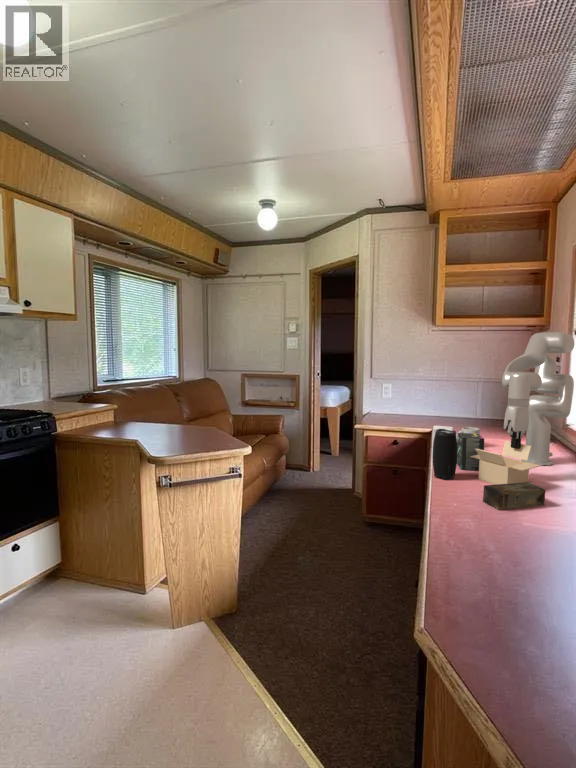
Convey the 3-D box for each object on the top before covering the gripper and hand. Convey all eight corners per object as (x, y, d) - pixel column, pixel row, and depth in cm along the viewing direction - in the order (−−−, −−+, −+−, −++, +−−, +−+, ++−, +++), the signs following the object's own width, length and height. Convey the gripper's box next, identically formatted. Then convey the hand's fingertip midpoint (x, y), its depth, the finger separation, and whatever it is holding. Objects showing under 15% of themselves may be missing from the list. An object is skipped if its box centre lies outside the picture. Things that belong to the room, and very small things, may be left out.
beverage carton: (546, 506, 137) (547, 487, 137) (498, 511, 133) (499, 492, 132) (527, 497, 145) (528, 479, 144) (481, 502, 140) (482, 484, 140)
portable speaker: (431, 473, 173) (433, 427, 171) (455, 475, 170) (457, 429, 168) (432, 479, 165) (433, 431, 163) (456, 481, 162) (458, 433, 160)
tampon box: (483, 471, 175) (485, 438, 174) (461, 470, 177) (462, 437, 176) (477, 464, 186) (478, 433, 185) (456, 463, 188) (457, 432, 187)
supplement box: (431, 458, 196) (432, 428, 194) (432, 454, 204) (433, 425, 203) (451, 460, 192) (452, 429, 191) (451, 456, 200) (452, 426, 199)
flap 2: (501, 454, 170) (502, 454, 170) (527, 460, 161) (527, 460, 161) (505, 440, 170) (505, 440, 170) (530, 445, 161) (531, 446, 161)
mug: (479, 446, 222) (480, 428, 221) (477, 449, 214) (478, 430, 213) (458, 443, 228) (459, 425, 227) (455, 446, 220) (456, 428, 219)
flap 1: (475, 448, 161) (475, 449, 161) (501, 454, 152) (500, 455, 152) (481, 458, 163) (481, 459, 163) (506, 465, 154) (506, 465, 154)
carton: (488, 471, 176) (489, 452, 175) (541, 486, 157) (542, 465, 156) (467, 476, 169) (468, 456, 168) (520, 492, 150) (521, 470, 149)
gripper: (520, 401, 171) (517, 444, 172) (498, 402, 163) (495, 447, 165) (538, 403, 164) (535, 448, 165) (516, 404, 157) (513, 451, 158)
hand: (515, 447), depth 165 cm, fingers closed
